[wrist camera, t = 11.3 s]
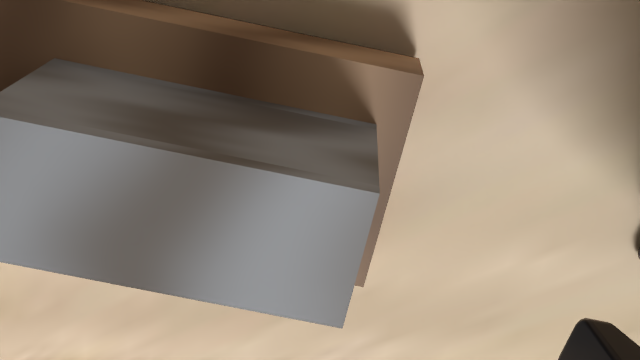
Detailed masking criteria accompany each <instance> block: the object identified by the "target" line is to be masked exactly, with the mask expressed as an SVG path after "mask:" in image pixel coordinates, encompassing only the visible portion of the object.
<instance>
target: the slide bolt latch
mask: <svg viewBox="0 0 640 360" xmlns="http://www.w3.org/2000/svg"><path fill="white" fill-rule="evenodd" d="M423 77H424V74H423V71H422V67H421V64H420V60H419V58H414V57H410V56H405V55H400V54H395V53H391V52H386V51H381V50H376V49H371V48H367V47H362V46H357V45H352V44H348V43H343V42H338V41H333V40H329V39H324V38H319V37H314V36H309V35H305V34H300V33H295V32H290V31H286V30H281V29H276V28H271V27H267V26H262V25H257V24H252V23H247V22H243V21H238V20H233V19H228V18H224V17H219V16H214V15H209V14H205V13H200V12H195V11H190V10H185V9H181V8H176V7H171V6H166V5H162V4H157V3H152V2H147V1H143V0H0V262H3V263H8V264H13V265H18V266H23V267H28V268H34V269H39V270H44V271H49V272H54V273H59V274H64V275H70V276H75V277H80V278H85V279H90V280H95V281H101V282H106V283H111V284H116V285H121V286H126V287H131V288H137V289H142V290H147V291H152V292H157V293H162V294H167V295H173V296H178V297H183V298H188V299H193V300H198V301H203V302H209V303H214V304H219V305H224V306H229V307H234V308H239V309H245V310H250V311H255V312H260V313H265V314H270V315H275V316H281V317H286V318H291V319H296V320H301V321H306V322H311V323H317V324H322V325H327V326H332V327H337V328H343V324H344V321H345V317H346V313H347V310H348V306H349V303H350V299H351V295H352V292H353V288H354V285H355V286H360V287H363V286H364V283H365V279H366V276H367V272H368V269H369V265H370V262H371V259H372V255H373V252H374V248H375V245H376V241H377V238H378V234H379V231H380V227H381V224H382V220H383V217H384V213H385V210H386V206H387V203H388V199H389V196H390V192H391V189H392V185H393V182H394V178H395V175H396V171H397V168H398V164H399V161H400V157H401V154H402V150H403V147H404V144H405V140H406V137H407V133H408V130H409V126H410V123H411V119H412V116H413V112H414V109H415V105H416V102H417V98H418V95H419V91H420V88H421V84H422V81H423Z"/></svg>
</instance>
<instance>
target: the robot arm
mask: <svg viewBox="0 0 640 360" xmlns="http://www.w3.org/2000/svg"><path fill="white" fill-rule="evenodd" d="M638 257H639V259H640V249H639V251H638ZM558 360H640V346H638V345H637V344H636V343H635V342H634V341H632V340H631V339H630V338H629V337H627V336H626V335H625V334H624V333H623V332H621V331H620V330H619V329H618V328H616V327H615V326H614V325H613V324H611V323H608V322H604V321H599V320H594V319H588V318H584V319H581V320H580V321H579V322H578V323H577V324H576V326H575V327H574V329H573V331H572V333H571V335H570V337H569V339H568V341H567V343H566V345H565V347H564V348H563V350H562V352H561V354H560V356H559V359H558Z"/></svg>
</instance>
